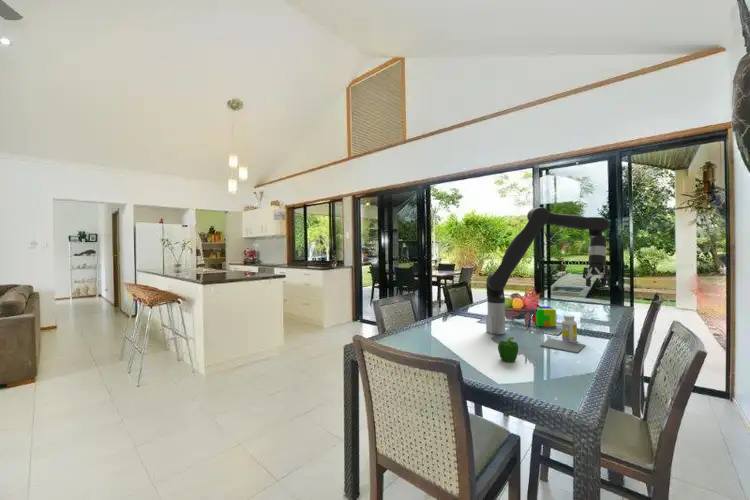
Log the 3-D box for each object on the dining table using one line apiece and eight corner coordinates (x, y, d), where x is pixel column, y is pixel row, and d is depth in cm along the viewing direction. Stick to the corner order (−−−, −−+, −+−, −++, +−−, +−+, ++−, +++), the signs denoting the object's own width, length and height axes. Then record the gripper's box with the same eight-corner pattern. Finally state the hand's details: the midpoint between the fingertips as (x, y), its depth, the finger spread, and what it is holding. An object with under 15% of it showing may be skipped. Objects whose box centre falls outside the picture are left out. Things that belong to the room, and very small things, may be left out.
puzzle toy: (548, 322, 208) (548, 306, 208) (555, 326, 198) (555, 309, 198) (532, 322, 209) (531, 306, 209) (538, 326, 199) (538, 309, 199)
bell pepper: (502, 364, 142) (502, 340, 142) (495, 357, 151) (495, 335, 150) (522, 363, 143) (522, 340, 142) (514, 356, 151) (513, 334, 150)
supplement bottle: (575, 339, 174) (575, 314, 173) (578, 343, 168) (578, 317, 167) (560, 338, 176) (560, 313, 176) (563, 342, 170) (563, 316, 169)
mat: (549, 339, 174) (549, 338, 174) (585, 345, 163) (585, 344, 163) (540, 346, 164) (540, 345, 164) (577, 353, 153) (577, 352, 153)
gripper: (580, 255, 182) (578, 285, 179) (603, 252, 169) (602, 284, 166) (591, 258, 184) (589, 288, 181) (615, 255, 170) (614, 287, 167)
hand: (595, 286), depth 173 cm, fingers open, 8 cm apart
